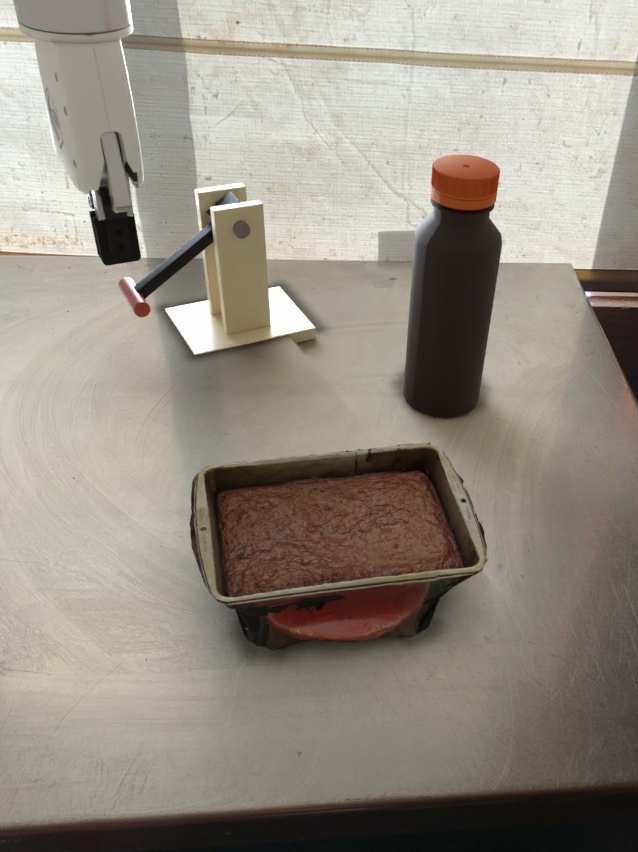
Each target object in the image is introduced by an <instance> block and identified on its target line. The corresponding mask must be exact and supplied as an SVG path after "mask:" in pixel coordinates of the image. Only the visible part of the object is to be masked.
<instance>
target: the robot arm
mask: <svg viewBox="0 0 638 852" xmlns="http://www.w3.org/2000/svg"><path fill="white" fill-rule="evenodd" d="M12 2H13V7H14V10H15V13H16V19H17V24H18V29H19V31H20V32H21V33H22V34H24V35H25V36H29V37H31V38H32V39H33V41H34V49H35V54H36V56H35V57H36V61H37V67H38V73H39V79H40V83H41V89H42V94H43V98H44V105H45V109H46V114H47V120H48V125H49V130H50V135H51V136H50V137H51V141H52V146H53V150H54V153H55V156H56V158H57V160H58V162H59V163H60V165H61V167H62V168H63V170H64V171H65V173H66V175H67V176H68V177H69V179H70V181H71V182H72V184H73V185H74V187H75V188H76V189H77V190H78V191H79V192H80V193H81V194H83V195H86V198H87V203H88V205H89V208H90V210H88V212H89V219H90V222H91V228H92V232H93V233H92V234H93V236H94V243H95V247H96V252H97V255H98V257H99V258H100V260H101V262H102V264H103V265H104V266H114V265H120V264H128V263H133V262H138V261H140V260H141V258H142V254H141V253H142V252H141V247H140V242H139V235H138V230H137V223H136V218H135V213H134V208H133V199H132V192H131V185H130V184H132V186H133V187H135V188H136V189H139V188H140V187H141V186H142V185H143V183H144V181H145V173H144V172H145V171H144V164H143V154H142V148H141V141H140V135H139V129H138V122H137V118H136V117H137V116H136V112H135V106H134V99H133V95H132V90H131V85H130V78H129V71H128V68H127V64H126V58H125V54H124V53H125V52H124V48H123V44H122V39H124V38H127V37H128V36H130V35H132V34H133V32H134V25H133V24H134V23H133V19H132V18H133V17H132V12H131V5H130V4H131V3H130V0H12Z"/></svg>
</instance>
